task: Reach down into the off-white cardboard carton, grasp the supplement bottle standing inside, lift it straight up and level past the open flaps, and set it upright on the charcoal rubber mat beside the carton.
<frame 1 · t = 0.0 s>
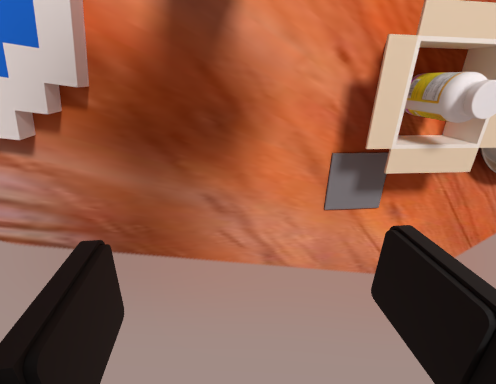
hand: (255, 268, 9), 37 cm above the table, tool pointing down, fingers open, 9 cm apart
coaster mat: (356, 181, 50), on the table
carton: (417, 94, 45), on the table
supplement bottle: (416, 94, 45), resting in carton
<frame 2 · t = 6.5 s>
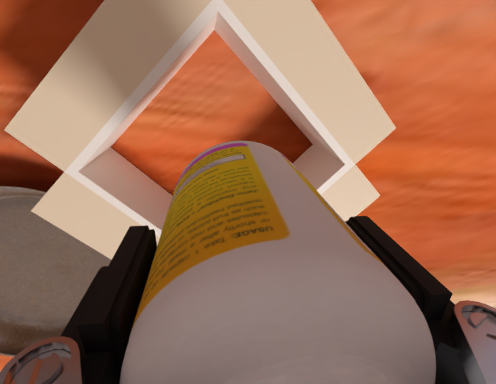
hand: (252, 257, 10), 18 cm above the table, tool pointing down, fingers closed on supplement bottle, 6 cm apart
carton: (216, 145, 26), on the table
plant saucer: (48, 263, 29), on the table
supplement bottle: (239, 198, 14), point 13 cm above the table, touching gripper
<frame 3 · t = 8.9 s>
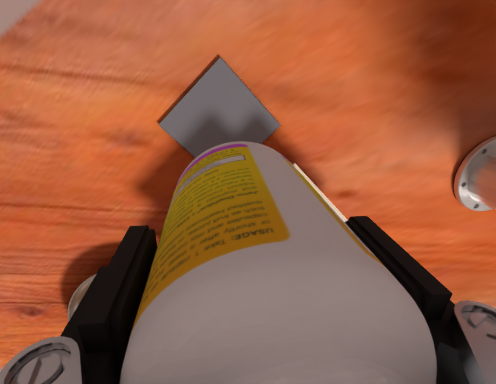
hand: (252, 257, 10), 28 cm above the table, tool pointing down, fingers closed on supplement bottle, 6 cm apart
coaster mat: (221, 124, 35), on the table
plant saucer: (145, 301, 45), on the table
supplement bottle: (239, 198, 14), point 22 cm above the table, touching gripper
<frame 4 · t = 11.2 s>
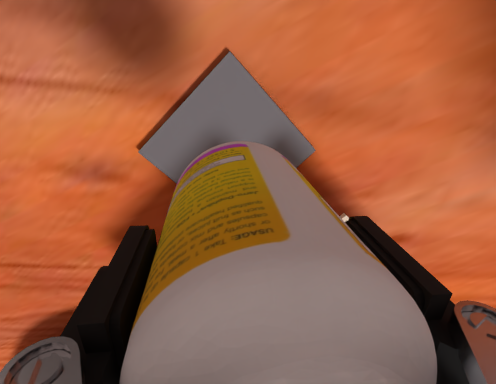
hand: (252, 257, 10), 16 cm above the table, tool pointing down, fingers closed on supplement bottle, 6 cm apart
coaster mat: (230, 149, 24), on the table
supplement bottle: (239, 198, 14), point 10 cm above the table, touching gripper
when the fingers open (7 cm above the table, at t = 13.4 s): supplement bottle drops 1 cm, resting on coaster mat.
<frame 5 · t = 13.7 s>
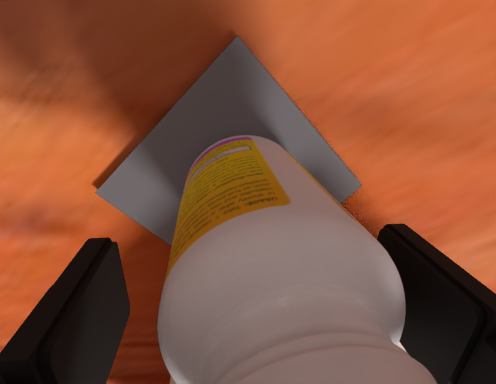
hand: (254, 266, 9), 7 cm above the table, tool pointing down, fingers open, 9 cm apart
coaster mat: (236, 186, 16), on the table
supplement bottle: (243, 188, 16), resting on coaster mat
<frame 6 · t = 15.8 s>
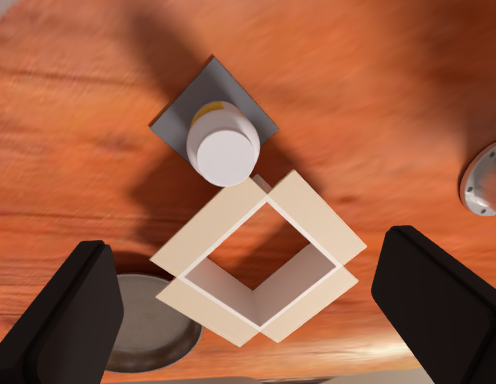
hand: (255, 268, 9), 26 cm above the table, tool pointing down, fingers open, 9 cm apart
coaster mat: (216, 128, 33), on the table
carton: (254, 240, 40), on the table
plant saucer: (139, 311, 43), on the table
supplement bottle: (219, 128, 33), resting on coaster mat
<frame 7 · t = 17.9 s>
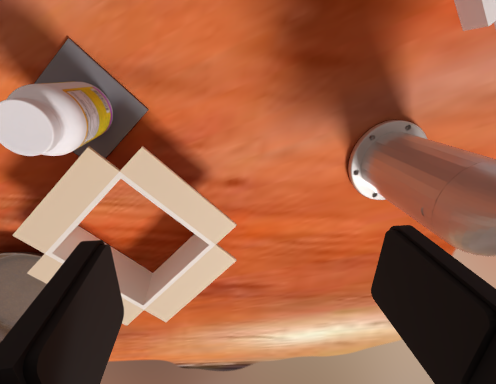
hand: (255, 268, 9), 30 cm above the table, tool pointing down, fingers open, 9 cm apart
coaster mat: (84, 109, 34), on the table
carton: (145, 222, 41), on the table
plant saucer: (40, 292, 44), on the table
supplement bottle: (87, 109, 34), resting on coaster mat
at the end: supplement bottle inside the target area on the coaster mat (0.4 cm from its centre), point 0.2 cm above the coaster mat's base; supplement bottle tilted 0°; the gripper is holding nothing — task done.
